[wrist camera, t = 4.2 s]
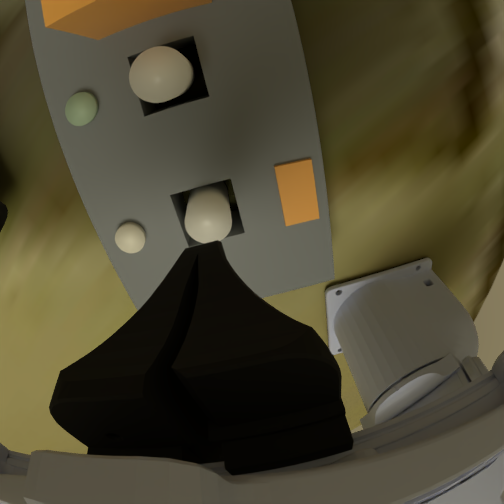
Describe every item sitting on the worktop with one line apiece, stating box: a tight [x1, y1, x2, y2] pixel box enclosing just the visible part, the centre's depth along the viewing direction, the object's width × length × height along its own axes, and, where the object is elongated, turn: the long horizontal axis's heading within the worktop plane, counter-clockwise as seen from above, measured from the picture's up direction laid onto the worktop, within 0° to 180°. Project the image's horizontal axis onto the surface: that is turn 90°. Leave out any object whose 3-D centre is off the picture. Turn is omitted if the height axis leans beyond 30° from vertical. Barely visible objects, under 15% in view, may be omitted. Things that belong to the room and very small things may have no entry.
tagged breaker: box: [185, 181, 232, 243], centre depth 16 cm, size 2×2×4 cm
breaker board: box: [25, 0, 335, 310], centre depth 13 cm, size 12×22×3 cm, turn 12°
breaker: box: [129, 46, 195, 103], centre depth 11 cm, size 2×2×4 cm
